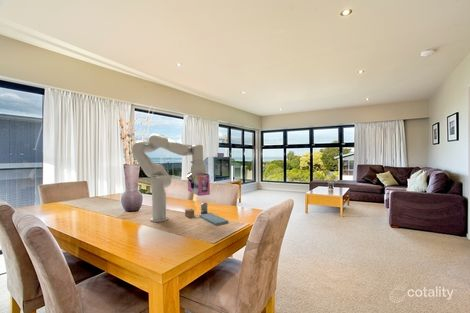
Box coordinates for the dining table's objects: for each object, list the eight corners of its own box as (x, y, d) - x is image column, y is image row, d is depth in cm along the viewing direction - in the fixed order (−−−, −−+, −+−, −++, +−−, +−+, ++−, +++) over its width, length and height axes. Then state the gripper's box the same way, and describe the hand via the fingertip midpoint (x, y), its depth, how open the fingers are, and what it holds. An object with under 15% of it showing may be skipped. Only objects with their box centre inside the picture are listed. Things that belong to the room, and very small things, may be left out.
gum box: (211, 195, 150) (210, 174, 150) (199, 196, 146) (199, 175, 146) (197, 189, 171) (197, 171, 171) (187, 191, 167) (187, 172, 167)
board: (199, 217, 172) (199, 215, 172) (210, 214, 178) (210, 212, 178) (215, 225, 152) (215, 223, 152) (228, 222, 158) (228, 220, 158)
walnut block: (185, 216, 174) (185, 209, 174) (191, 215, 177) (191, 208, 177) (188, 217, 170) (187, 211, 170) (194, 216, 173) (194, 210, 173)
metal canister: (200, 213, 183) (199, 203, 183) (205, 212, 186) (205, 202, 186) (202, 214, 179) (202, 204, 179) (208, 213, 182) (208, 203, 181)
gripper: (188, 163, 151) (188, 189, 151) (211, 162, 160) (212, 187, 161) (183, 163, 157) (184, 188, 157) (206, 161, 167) (207, 185, 167)
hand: (198, 187), depth 159 cm, fingers closed on gum box, 8 cm apart
